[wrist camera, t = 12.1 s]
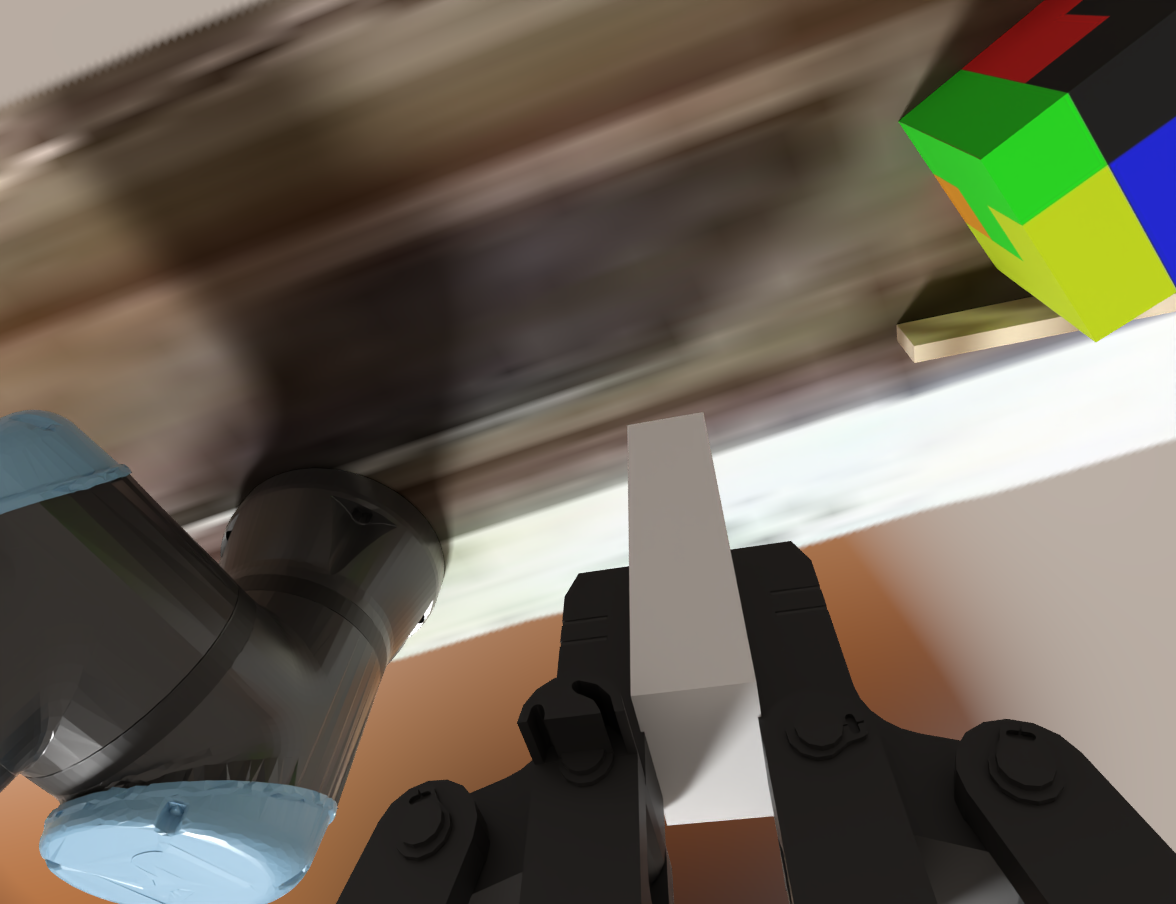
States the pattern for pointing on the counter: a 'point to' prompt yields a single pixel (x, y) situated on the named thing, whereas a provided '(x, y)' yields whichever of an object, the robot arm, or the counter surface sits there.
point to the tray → (991, 328)
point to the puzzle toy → (1067, 155)
